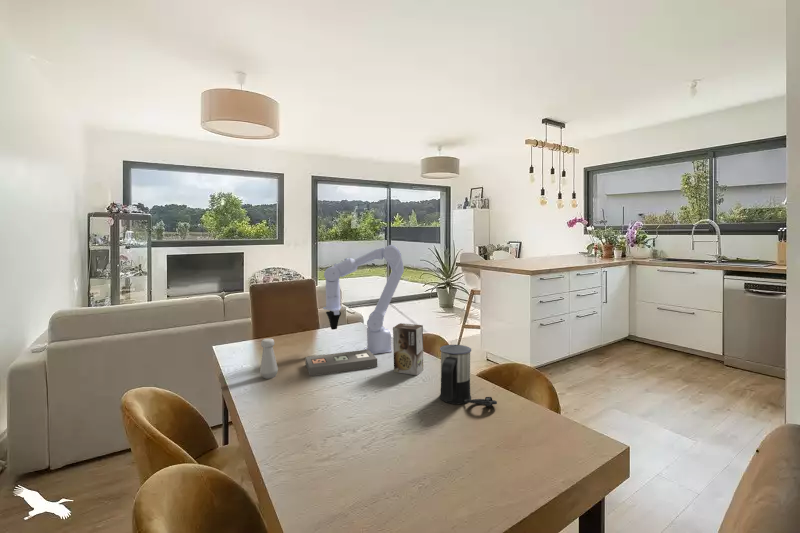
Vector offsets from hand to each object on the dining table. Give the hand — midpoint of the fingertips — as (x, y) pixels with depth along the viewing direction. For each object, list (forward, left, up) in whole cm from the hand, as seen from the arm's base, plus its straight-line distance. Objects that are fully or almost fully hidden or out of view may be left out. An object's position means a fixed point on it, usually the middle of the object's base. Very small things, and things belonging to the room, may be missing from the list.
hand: (333, 329), depth 158 cm
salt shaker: (+26, +19, -10) cm, 34 cm away
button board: (+1, +18, -9) cm, 20 cm away
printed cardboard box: (-20, +32, -10) cm, 39 cm away
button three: (+9, +18, -9) cm, 22 cm away
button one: (-7, +18, -9) cm, 21 cm away
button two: (+1, +18, -9) cm, 20 cm away
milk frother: (-26, +61, -10) cm, 67 cm away
